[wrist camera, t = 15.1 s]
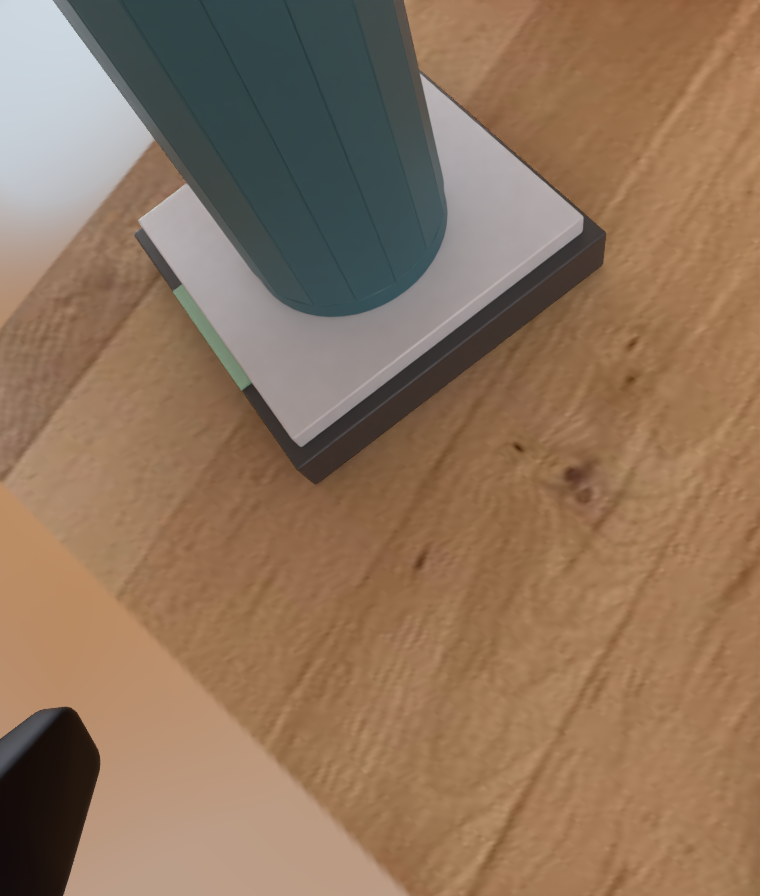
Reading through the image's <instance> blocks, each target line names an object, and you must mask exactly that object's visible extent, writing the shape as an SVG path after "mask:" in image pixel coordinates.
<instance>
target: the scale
mask: <svg viewBox="0 0 760 896" xmlns="http://www.w3.org/2000/svg"><path fill="white" fill-rule="evenodd" d="M419 72H420V77H421V81H422V85H423V90H424V94H425V99H426V103H427V108H428V112H429V117H430V121H431V126H432V130H433V135H434V139H435V144H436V148H437V153H438V157H439V162H440V166H441V170H442V175H443V179H444V192H445V197H446V201H447V212H448V215H447V226H446V231H445V235H444V239H443V241H442V244H441V247H440V249H439V251H438V253H437V255H436V257H435V259H434V260H433V262H432V263H431V265H430V266H429V268H428V269H427V270H426V272H425V273H424V274H423V275H422V276H421V277H420V278H419V280H418V281H417V282H416V283H414V284H413V285H412V286H411V287H410V288H409V289H408V290H407V291H405V292H404V293H402V294H401V295H399V296H398V297H397V298H395V299H393V300H392V301H390V302H388V303H386V304H384V305H382V306H380V307H377V308H375V309H372V310H370V311H367V312H363V313H360V314H356V315H349V316H343V317H324V316H315V315H311V314H306V313H303V312H300V311H297V310H295V309H292V308H291V307H289V306H287V305H285V304H283V303H282V302H281V301H279V300H278V299H277V298H275V297H274V296H273V295H272V294H271V293H270V292H269V291H268V289H267V288H266V287H265V286H264V284H263V283H262V281H261V280H260V279H259V278H258V277H257V276H256V275H255V274H254V273H253V272H252V271H251V269H250V268H249V267H248V265H247V264H246V263H245V261H244V260H243V259H242V257H241V256H240V254H239V253H238V252H237V250H236V249H235V248H234V246H233V245H232V244H231V242H230V241H229V239H228V238H227V237H226V235H225V234H224V233H223V231H222V230H221V229H220V227H219V226H218V224H217V223H216V222H215V220H214V219H213V218H212V216H211V215H210V214H209V212H208V211H207V209H206V208H205V207H204V205H203V204H202V203H201V201H200V200H199V199H198V197H197V196H196V195H195V193H194V192H193V190H192V189H191V188H190V186H189V185H188V184H187V183H186V184H185V185H184V186H182V187H181V188H180V189H178V190H177V191H176V192H174V193H173V194H172V195H170V196H169V197H168V198H167V199H165V200H164V201H163V202H161V203H160V204H159V205H157V206H156V207H155V208H153V209H152V210H151V211H149V212H148V213H147V214H145V215H144V216H143V217H142V218H140V219H139V220H138V221H139V224H140V225H141V226H142V228H141V229H139V230H138V231H137V232H135V234H134V235H135V237H136V239H137V240H138V242H139V243H140V245H141V246H142V247H143V249H144V250H145V252H146V253H147V255H148V256H149V258H150V259H151V260H152V262H153V263H154V265H155V266H156V268H157V269H158V271H159V272H160V273H161V275H162V276H163V278H164V279H165V281H166V282H167V283H168V285H169V286H170V288H171V289H172V291H173V293H174V295H175V296H176V298H177V299H178V300H179V302H180V303H181V305H182V306H183V308H184V309H185V311H186V312H187V313H188V315H189V316H190V318H191V319H192V321H193V322H194V324H195V325H196V326H197V328H198V329H199V331H200V332H201V334H202V335H203V336H204V338H205V339H206V341H207V342H208V344H209V345H210V347H211V348H212V349H213V351H214V352H215V354H216V355H217V357H218V358H219V360H220V361H221V362H222V364H223V365H224V367H225V368H226V370H227V371H228V373H229V374H230V375H231V377H232V378H233V380H234V381H235V383H236V384H237V386H238V387H239V388H240V390H241V391H242V392H243V393H244V394H245V396H246V397H247V399H248V400H249V402H250V403H251V405H252V406H253V407H254V409H255V410H256V412H257V413H258V415H259V416H260V417H261V419H262V420H263V422H264V423H265V425H266V426H267V428H268V429H269V430H270V432H271V433H272V435H273V436H274V438H275V439H276V441H277V442H278V443H279V445H280V446H281V448H282V449H283V451H284V452H285V453H286V455H287V456H288V458H289V459H290V461H291V462H292V464H293V465H294V466H295V468H296V469H297V470H298V471H299V472H300V473H302V474H303V475H304V476H305V477H306V478H308V479H309V480H310V481H311V482H312V483H314V484H318V483H319V482H320V481H322V480H323V479H324V478H325V477H327V476H328V475H329V474H331V473H332V472H333V471H335V470H336V469H337V468H339V467H340V466H341V465H342V464H344V463H345V462H346V461H348V460H349V459H350V458H352V457H353V456H354V455H355V454H357V453H358V452H359V451H361V450H362V449H363V448H365V447H366V446H367V445H368V444H370V443H371V442H372V441H374V440H375V439H376V438H378V437H379V436H380V435H382V434H383V433H384V432H385V431H387V430H388V429H389V428H391V427H392V426H393V425H395V424H396V423H397V422H398V421H400V420H401V419H402V418H404V417H405V416H406V415H408V414H409V413H410V412H412V411H413V410H414V409H415V408H417V407H418V406H419V405H421V404H422V403H423V402H425V401H426V400H427V399H428V398H430V397H431V396H432V395H434V394H435V393H436V392H438V391H439V390H440V389H442V388H443V387H444V386H445V385H447V384H448V383H449V382H451V381H452V380H453V379H455V378H456V377H457V376H458V375H460V374H461V373H462V372H464V371H465V370H466V369H468V368H469V367H470V366H471V365H473V364H474V363H475V362H477V361H478V360H479V359H481V358H482V357H483V356H485V355H486V354H487V353H488V352H490V351H491V350H492V349H494V348H495V347H496V346H498V345H499V344H500V343H501V342H503V341H504V340H505V339H507V338H508V337H509V336H511V335H512V334H513V333H515V332H516V331H517V330H518V329H520V328H521V327H522V326H524V325H525V324H526V323H528V322H529V321H530V320H531V319H533V318H534V317H535V316H537V315H538V314H539V313H541V312H542V311H543V310H545V309H546V308H547V307H548V306H550V305H551V304H552V303H554V302H555V301H556V300H558V299H559V298H560V297H561V296H563V295H564V294H565V293H567V292H568V291H569V290H571V289H572V288H573V287H574V286H576V285H577V284H578V283H580V282H581V281H582V280H584V279H585V278H586V277H588V276H589V275H590V274H591V273H593V272H594V271H595V270H597V269H598V268H599V267H601V266H602V264H603V259H604V250H605V241H606V232H605V231H604V230H603V229H601V228H600V227H599V226H598V225H597V224H596V223H595V222H593V221H592V220H591V219H590V218H589V217H588V216H587V215H585V214H584V213H583V212H582V211H581V210H580V209H579V208H577V207H576V206H575V205H574V204H573V203H572V202H571V201H569V200H568V199H567V198H566V197H565V196H564V195H562V194H561V193H560V192H559V191H558V190H557V189H556V188H554V187H553V186H552V185H551V184H550V183H549V182H548V181H546V180H545V179H544V178H543V177H542V176H541V175H540V174H538V173H537V172H536V171H535V170H534V169H533V168H532V167H530V166H529V165H528V164H527V163H526V162H525V161H524V160H522V159H521V158H520V157H519V156H518V155H517V154H515V153H514V152H513V151H512V150H511V149H510V148H509V147H507V146H506V145H505V144H504V143H503V142H502V141H501V140H499V139H498V138H497V137H496V136H495V135H494V134H493V133H491V132H490V131H489V130H488V129H487V128H486V127H485V126H483V125H482V124H481V123H480V122H479V121H478V120H477V119H475V118H474V117H473V116H472V115H471V114H470V113H469V112H467V111H466V110H465V109H464V108H463V107H462V106H460V105H459V104H458V103H457V102H456V101H455V100H454V99H452V98H451V97H450V96H449V95H448V94H447V93H446V92H444V91H443V90H442V89H441V88H440V87H439V86H438V85H436V84H435V83H434V82H433V81H432V80H431V79H430V78H428V77H427V76H426V75H425V74H424V73H423V72H422V71H420V70H419Z"/></svg>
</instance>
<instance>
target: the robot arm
mask: <svg viewBox="0 0 760 896" xmlns="http://www.w3.org/2000/svg"><path fill="white" fill-rule="evenodd" d="M99 770H100V755H99V752H98V749H97V747H96V745H95V743H94V742H93V740H92V738H91V736H90V735H89V733H88V731H87V729H86V727H85V726H84V724H83V722H82V720H81V719H80V717H79V715H78V714H77V712H76V711H75V710H73V709H72V708H70V707H58V708H50V709H43V710H40V711H38V712H36V713H34V714H33V715H31V716H30V717H29V718H27V719H26V720H25V721H23V722H22V723H21V724H19V725H18V726H17V727H15V728H14V729H13V730H12V731H10V732H9V733H8V734H6V735H5V736H4V737H2V738H1V739H0V896H63V894H64V891H65V888H66V885H67V882H68V878H69V875H70V872H71V868H72V865H73V861H74V858H75V854H76V851H77V847H78V844H79V841H80V837H81V834H82V830H83V827H84V823H85V820H86V816H87V812H88V809H89V806H90V802H91V799H92V795H93V792H94V788H95V785H96V781H97V778H98V775H99Z"/></svg>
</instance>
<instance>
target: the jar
mask: <svg viewBox="0 0 760 896" xmlns="http://www.w3.org/2000/svg"><path fill="white" fill-rule="evenodd" d="M53 1H54V2H55V4H56V5H57V7H58V8H59V9H60V11H61V12H62V13H63V15H64V16H65V17H66V19H67V20H68V22H69V23H70V24H71V26H72V27H73V28H74V30H75V31H76V33H77V34H78V35H79V37H80V38H81V39H82V41H83V42H84V43H85V45H86V46H87V47H88V49H89V50H90V52H91V53H92V54H93V56H94V57H95V58H96V60H97V61H98V62H99V64H100V65H101V67H102V68H103V69H104V71H105V72H106V73H107V75H108V76H109V77H110V79H111V80H112V82H113V83H114V84H115V85H116V87H117V88H118V90H119V91H120V92H121V94H122V95H123V97H124V98H125V99H126V101H127V102H128V103H129V105H130V106H131V107H132V109H133V110H134V111H135V113H136V114H137V115H138V117H139V118H140V119H141V121H142V122H143V123H144V125H145V126H146V128H147V129H148V131H149V132H150V133H151V134H152V136H153V137H154V139H155V140H156V141H157V143H158V144H159V146H160V147H161V148H162V150H163V151H164V152H165V154H166V155H167V156H168V158H169V159H170V160H171V162H172V163H173V165H174V166H175V167H176V169H177V170H178V171H179V173H180V174H181V175H182V177H183V178H184V180H185V181H186V182H187V184H188V185H189V186H190V188H191V189H192V190H193V192H194V193H195V195H196V196H197V197H198V199H199V200H200V201H201V203H202V204H203V205H204V207H205V208H206V209H207V211H208V212H209V214H210V215H211V216H212V218H213V219H214V220H215V222H216V223H217V224H218V226H219V227H220V229H221V230H222V231H223V233H224V234H225V235H226V237H227V238H228V239H229V241H230V242H231V244H232V245H233V246H234V248H235V249H236V250H237V252H238V253H239V254H240V256H241V257H242V259H243V260H244V261H245V263H246V264H247V265H248V267H249V268H250V269H251V271H252V272H253V273H254V274H255V275H256V276H257V277H258V278H259V279H260V280H261V281H262V283H263V284H264V286H265V287H266V288H267V289H268V291H269V292H270V293H271V294H272V295H273V296H274V297H275V298H277V299H278V300H279V301H281V302H282V303H283V304H285V305H287V306H289V307H291V308H292V309H295V310H297V311H300V312H303V313H306V314H311V315H315V316H324V317H343V316H349V315H356V314H360V313H363V312H367V311H370V310H372V309H375V308H377V307H380V306H382V305H384V304H386V303H388V302H390V301H392V300H393V299H395V298H397V297H398V296H399V295H401V294H402V293H404V292H405V291H407V290H408V289H409V288H410V287H411V286H412V285H413V284H414V283H416V282H417V281H418V280H419V278H420V277H421V276H422V275H423V274H424V273H425V272H426V270H427V269H428V268H429V266H430V265H431V263H432V262H433V260H434V259H435V257H436V255H437V253H438V251H439V249H440V247H441V244H442V241H443V239H444V235H445V231H446V226H447V215H448V212H447V201H446V197H445V192H444V179H443V175H442V170H441V166H440V162H439V157H438V153H437V148H436V144H435V139H434V135H433V130H432V126H431V121H430V117H429V112H428V108H427V103H426V99H425V94H424V90H423V85H422V81H421V77H420V72H419V68H418V63H417V59H416V54H415V50H414V45H413V41H412V36H411V32H410V27H409V23H408V18H407V14H406V9H405V5H404V0H53Z"/></svg>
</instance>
